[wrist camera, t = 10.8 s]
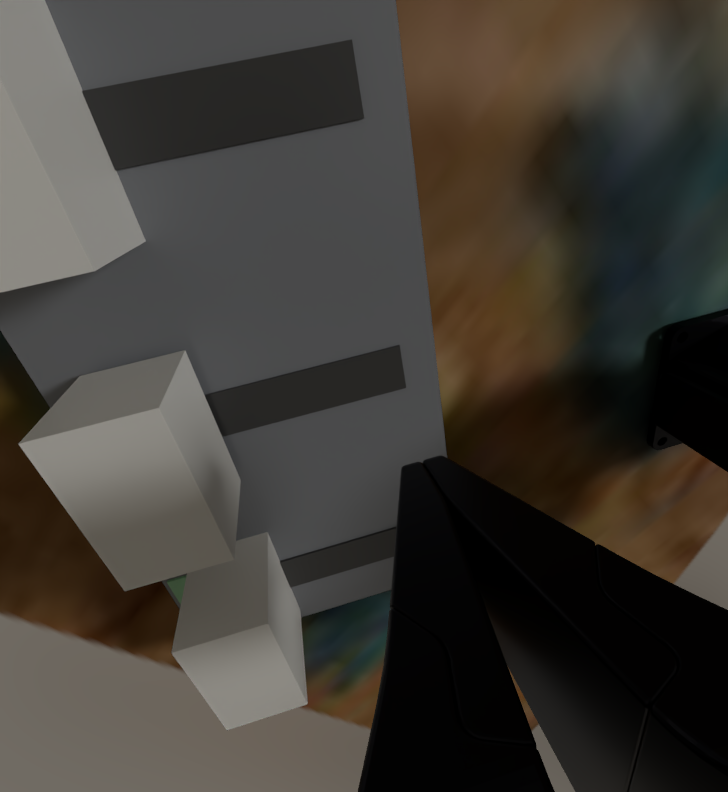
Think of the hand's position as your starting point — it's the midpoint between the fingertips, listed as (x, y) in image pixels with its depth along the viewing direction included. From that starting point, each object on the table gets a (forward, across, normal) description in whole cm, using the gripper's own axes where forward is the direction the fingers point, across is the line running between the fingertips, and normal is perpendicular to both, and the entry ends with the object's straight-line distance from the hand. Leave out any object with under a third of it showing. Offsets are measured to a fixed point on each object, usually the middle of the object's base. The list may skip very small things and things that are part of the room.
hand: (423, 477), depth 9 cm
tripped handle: (+6, +7, +1) cm, 9 cm away
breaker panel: (+8, +4, +1) cm, 9 cm away
